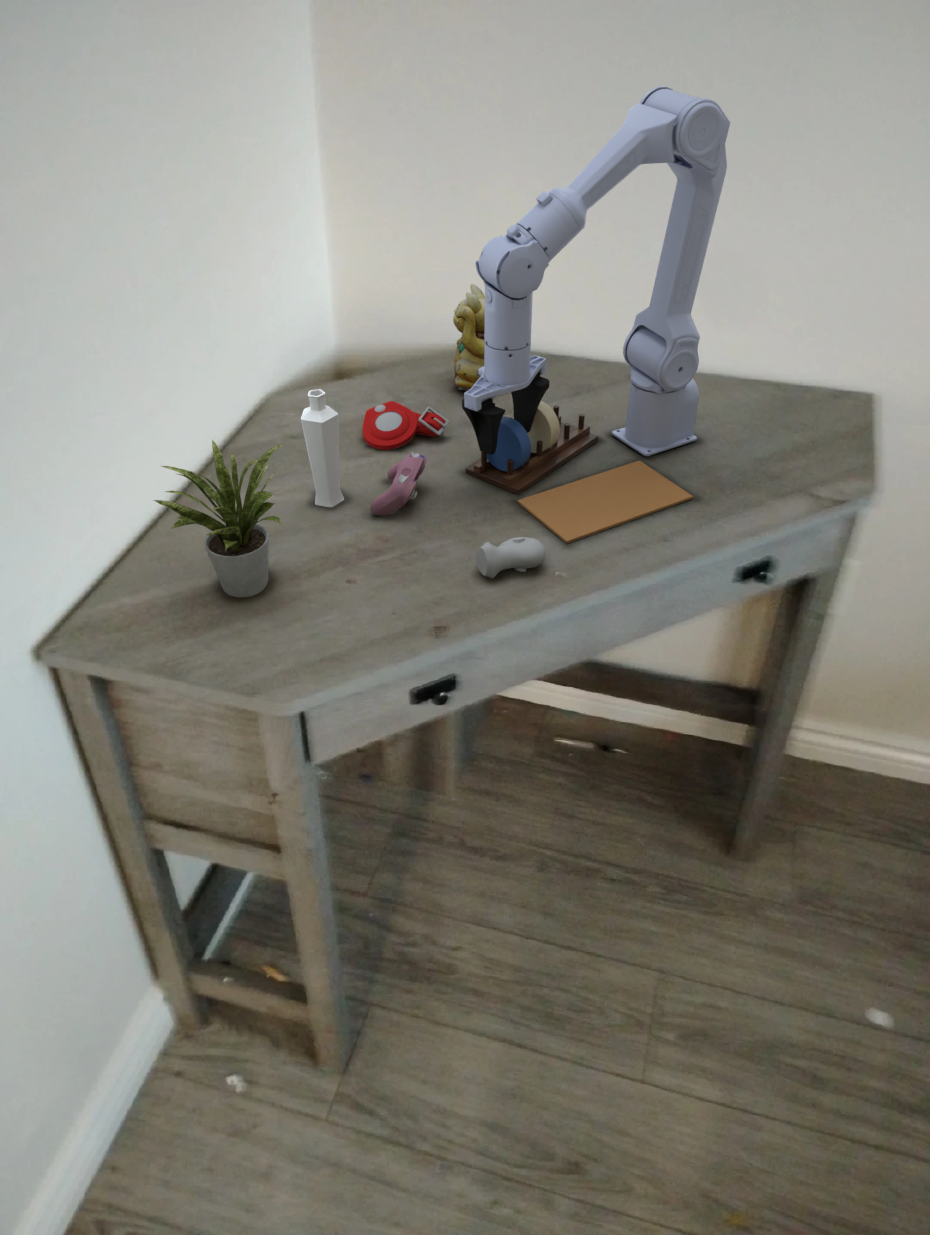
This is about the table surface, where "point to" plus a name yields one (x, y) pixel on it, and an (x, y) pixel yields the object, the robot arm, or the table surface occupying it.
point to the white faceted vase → (323, 448)
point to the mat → (603, 501)
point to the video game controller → (400, 484)
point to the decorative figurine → (470, 338)
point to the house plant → (232, 524)
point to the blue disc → (511, 445)
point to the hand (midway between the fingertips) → (505, 440)
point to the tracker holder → (399, 425)
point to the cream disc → (543, 427)
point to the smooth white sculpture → (510, 556)
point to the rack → (536, 459)
